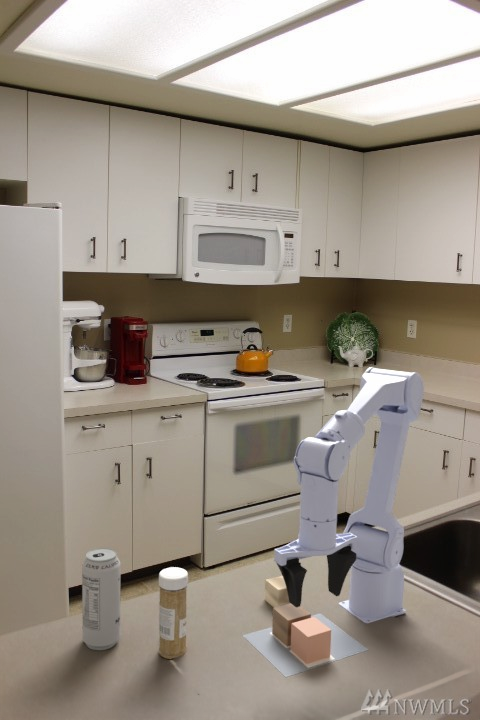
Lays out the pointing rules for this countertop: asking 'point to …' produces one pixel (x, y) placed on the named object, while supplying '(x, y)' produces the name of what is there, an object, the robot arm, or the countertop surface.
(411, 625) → the countertop surface
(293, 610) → the walnut block
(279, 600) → the maple block
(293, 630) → the terracotta block
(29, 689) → the countertop surface
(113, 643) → the energy drink can
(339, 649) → the build board
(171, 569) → the sprinkles bottle
